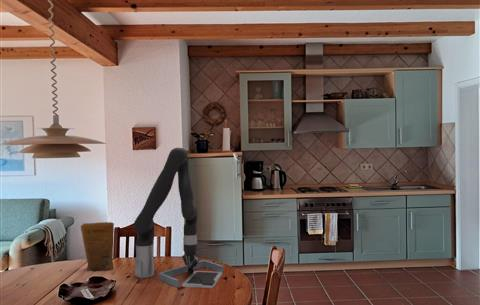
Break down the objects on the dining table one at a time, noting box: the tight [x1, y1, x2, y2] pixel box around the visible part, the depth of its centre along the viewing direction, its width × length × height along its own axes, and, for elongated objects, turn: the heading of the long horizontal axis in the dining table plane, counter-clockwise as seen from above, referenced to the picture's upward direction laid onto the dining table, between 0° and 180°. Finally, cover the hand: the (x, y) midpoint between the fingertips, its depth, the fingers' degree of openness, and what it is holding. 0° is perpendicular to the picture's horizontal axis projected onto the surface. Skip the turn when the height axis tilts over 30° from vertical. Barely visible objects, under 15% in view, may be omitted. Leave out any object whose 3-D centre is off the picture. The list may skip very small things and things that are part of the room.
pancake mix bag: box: [80, 221, 115, 272], centre depth 224 cm, size 7×19×28 cm, turn 83°
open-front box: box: [158, 259, 224, 288], centre depth 210 cm, size 31×17×4 cm, turn 134°
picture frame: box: [181, 270, 223, 289], centre depth 203 cm, size 16×3×21 cm
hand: (190, 273), depth 211 cm, fingers closed
